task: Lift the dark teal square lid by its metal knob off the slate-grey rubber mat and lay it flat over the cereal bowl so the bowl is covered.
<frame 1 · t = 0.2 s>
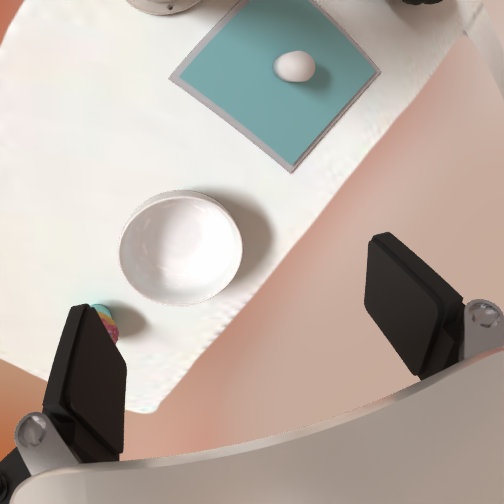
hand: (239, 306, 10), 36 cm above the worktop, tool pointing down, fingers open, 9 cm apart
mat: (283, 68, 39), on the worktop
cupcake: (98, 314, 52), on the worktop
cereal bowl: (179, 233, 48), on the worktop
lid: (284, 67, 38), resting on mat
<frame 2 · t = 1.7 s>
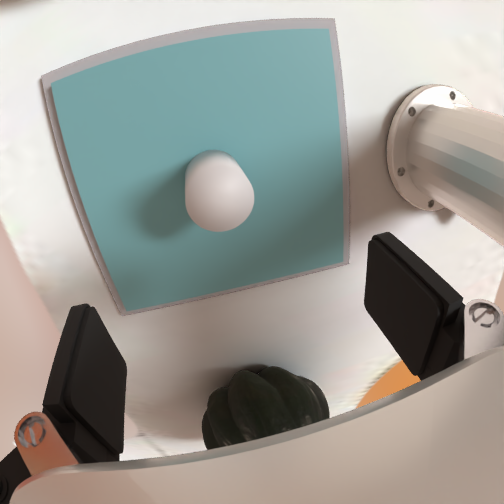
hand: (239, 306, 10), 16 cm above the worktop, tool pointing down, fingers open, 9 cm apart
mat: (211, 172, 24), on the worktop
squash: (255, 387, 38), on the worktop
lid: (212, 173, 23), resting on mat
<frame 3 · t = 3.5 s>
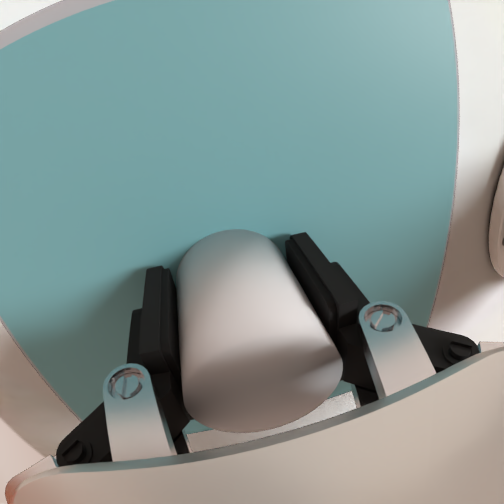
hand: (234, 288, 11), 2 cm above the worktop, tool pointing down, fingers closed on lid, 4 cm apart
mat: (227, 261, 13), on the worktop
lid: (228, 268, 12), resting on mat, touching gripper
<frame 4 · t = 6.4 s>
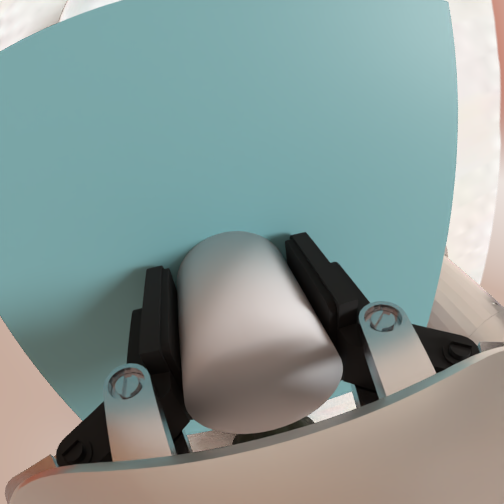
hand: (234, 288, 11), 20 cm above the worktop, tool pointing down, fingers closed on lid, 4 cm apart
squash: (268, 420, 51), on the worktop
cereal bowl: (173, 45, 23), on the worktop
lid: (229, 269, 12), point 18 cm above the worktop, touching gripper
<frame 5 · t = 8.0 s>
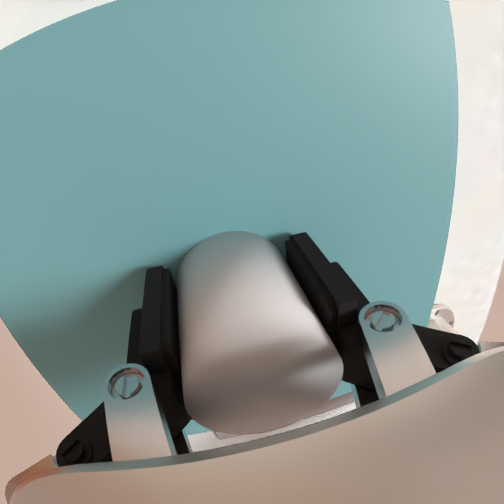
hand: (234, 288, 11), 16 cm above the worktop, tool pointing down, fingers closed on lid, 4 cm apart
mat: (282, 382, 39), on the worktop
lid: (229, 269, 12), point 15 cm above the worktop, touching gripper
when the fingers open (10 cm above the worktop, at t = 9.3 s): lid drops 1 cm, resting on cereal bowl.
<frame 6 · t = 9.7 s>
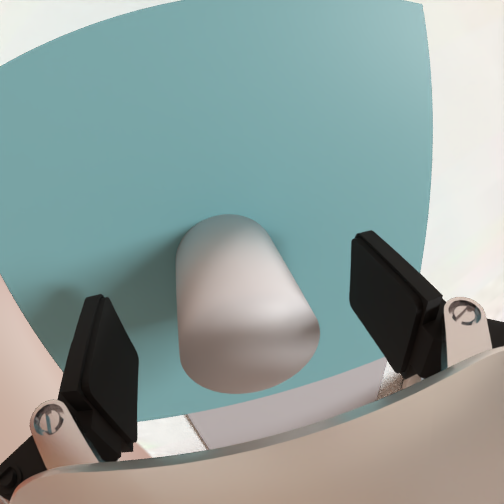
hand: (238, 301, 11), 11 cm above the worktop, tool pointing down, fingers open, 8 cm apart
mat: (294, 417, 34), on the worktop
lid: (223, 251, 14), point 7 cm above the worktop, touching cereal bowl
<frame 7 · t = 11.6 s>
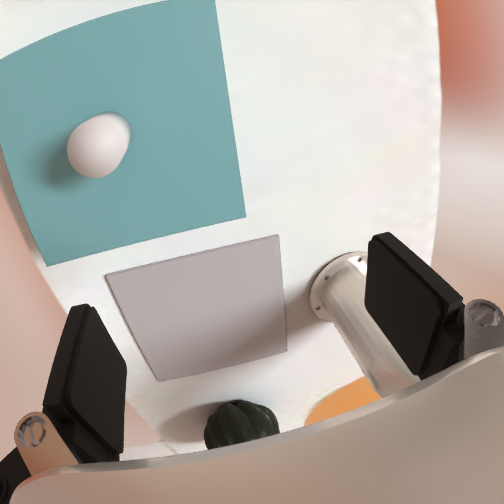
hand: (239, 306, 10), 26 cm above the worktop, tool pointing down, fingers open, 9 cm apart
mat: (208, 319, 45), on the worktop
squash: (235, 410, 60), on the worktop
lid: (109, 134, 23), point 7 cm above the worktop, touching cereal bowl
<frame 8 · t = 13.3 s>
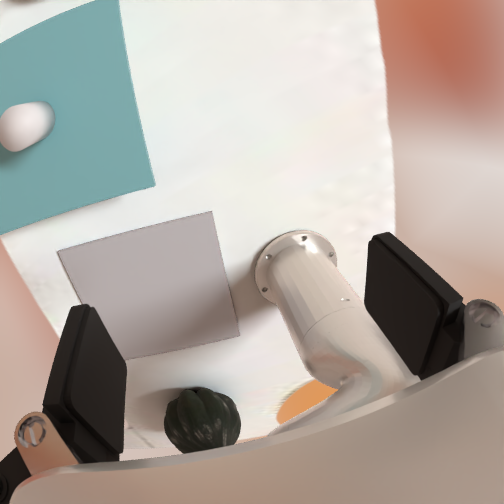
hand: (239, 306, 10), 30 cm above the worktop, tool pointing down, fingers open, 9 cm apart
mat: (154, 297, 45), on the worktop
squash: (198, 399, 59), on the worktop
lid: (41, 119, 24), point 7 cm above the worktop, touching cereal bowl
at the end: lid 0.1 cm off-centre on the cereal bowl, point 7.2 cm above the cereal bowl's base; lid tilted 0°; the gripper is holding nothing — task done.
